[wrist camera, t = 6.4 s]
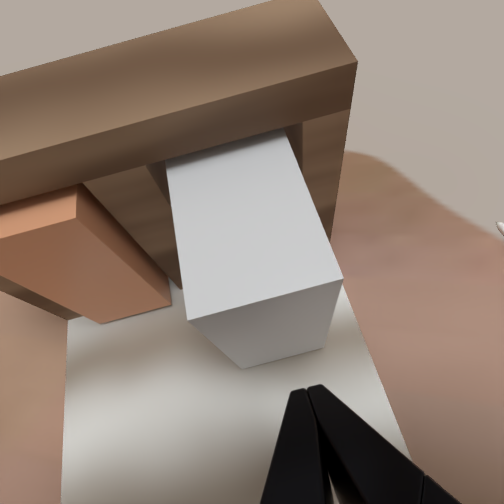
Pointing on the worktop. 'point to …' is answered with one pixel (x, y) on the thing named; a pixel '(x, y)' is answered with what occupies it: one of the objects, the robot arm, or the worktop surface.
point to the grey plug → (252, 250)
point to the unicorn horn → (500, 227)
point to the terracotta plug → (78, 256)
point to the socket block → (165, 247)
